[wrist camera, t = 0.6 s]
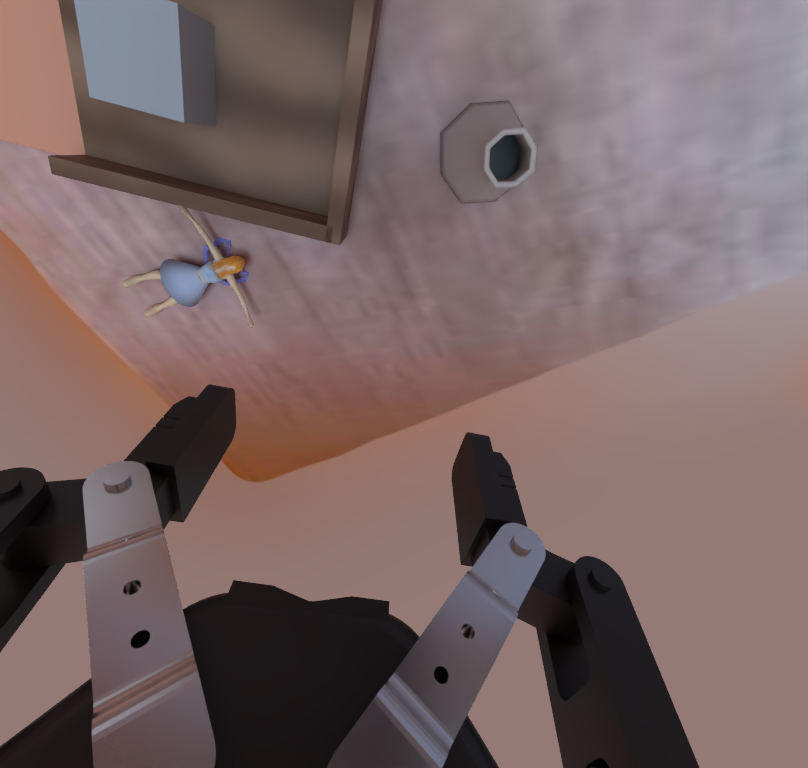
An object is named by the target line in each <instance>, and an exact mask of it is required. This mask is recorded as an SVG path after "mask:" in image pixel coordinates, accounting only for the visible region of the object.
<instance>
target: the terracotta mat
mask: <svg viewBox="0 0 808 768" xmlns="http://www.w3.org/2000/svg"><path fill="white" fill-rule="evenodd" d="M0 140H4V141H8V142H11V143H15V144H19V145H23V146H27V147H31V148H35V149H39V150H43V151H47V152H51V153H55V154H59V155H86V154H85V149H84V143H83V138H82V132H81V126H80V121H79V115H78V109H77V104H76V98H75V92H74V87H73V81H72V76H71V70H70V64H69V59H68V53H67V47H66V42H65V36H64V30H63V25H62V19H61V13H60V8H59V2H58V0H0Z"/></svg>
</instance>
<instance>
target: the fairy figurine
mask: <svg viewBox="0 0 808 768" xmlns="http://www.w3.org/2000/svg"><path fill="white" fill-rule="evenodd" d="M180 207H181V208H182V210H181V209H180V211H182V212H183V213H184V214H185V215H187V216H188V217H189V218H190V220H191V221H192V222H193V223H194V225H195V227H196V228H197V230H198V231H199V232H200V234H201V235H202V236H203V238H204V239H205V241H206V243H207V244H208V246H206V247H207V248H206V247H205V249H204V251H205V252H203V253H205V254H203V255H204V260H205V262H206V264H205V265H204V266H202V267H198V266H195V265H192V264H188V263H185V262H181V261H177V260H174V259H168V260H165V261H164V262H163V263H162V264H161V267H160V271H159V270H155V271H152V272H149V273H147V274H144V275H135V276H132V277H131V278H129V279H126V280H124V281H123V282H122V285H123V286H124V287H126V288H129V287H131V286H133V285H135V284H138V283H141V282H142V281H144V280H153V279H159V280H162V283H163V285H164V287H165V289H166V291H167V292H168V293H169V295H170V296H171V297H170V298H169V299H168V300H166V301H165V302H164V303H161V304H156V305H153V306H152V307H151V308H149V309H147V310H146V311H145V312H144V315H145V316H146V317H151V316H153V315H154V314H156V313H158V312H161V311H162V310H163V309H164V308H166V307H169V306H173V305H176V304H178V303H180V304H181V305H184V306H188V307H192V306H195V305H196V304H197V303H198V302H199V300H200V298H201V296H202V295H203V293H204V291H205V289H206V288H207V286H208V284H209V283H218V282H220V283H222V284H224V285H226V284H227V285H228V284H229V285H231V286H232V288H233V289H234V290H235V292H236V294H237V296H238V298H239V300H240V302H241V304H242V306H243V308H244V310H245V312H246V315H247V320H248V325H249V323H250V325H252V326H251V328H253V327H254V323H253V321H252V318H251V316H250V314H249V312H248V309H247V305H246V302H245V299H244V297H243V295H242V293H241V291H240V289H239V287H238V285H237V283H239V282H240V283H241V282H246V280H247V277H248V276H249V275H248V276H247V274H249V273H247V272H245V271H244V272H245V273H244V272H242V269H243V267H244V266H245V261H244V259H243V258H241V257H239V256H231V257H228V254H229V250H230V248H229V244H230V245H231V241H229V240H228V244H227V245H228V254H227V257H225V258H224V257H223V256H222V255H221V254H220V252H219V251H218V250H217V248H216V246H217V245H219V244H220V243H222V244H223V241H226V243H227V239H224V240H222V238H218V239H217V240H216V241H215V242H214V243H212V241H211V239H210V238H209V236H208V234H207V233H206V232H205V230H204V229H203V228H202V227H201V226H200V225H199V224H198V223H197V222H196V220H195V219H194V218H193V217H192V215H191V214H190V212H189V211H188V210H187V208H186V207H184V206H180ZM219 241H220V242H219ZM215 243H216V244H215ZM218 243H219V244H218ZM227 245H226V246H227ZM209 249H210V251H211V253H212V254H211V255H213V257H214V258H213V257H212V256H211V255H210V254H209V255H210V256H211V257H212V258H213V261H209V262H208V261H207V259H208V258H207V256H206V254H208V253H207V250H209ZM220 249H221V248H220ZM224 250H225V247H224ZM221 251H222V250H221ZM222 253H223V252H222ZM205 256H206V257H205ZM214 259H215V260H214ZM211 260H212V259H211ZM207 262H208V263H207ZM240 271H241V272H242V273H243V275H244V274H246V276H245V278H246V280H245V278H242V277H241V279H242V281H241V279H240V280H239V279H237V280H235V278H234V275H233V273H234V274H235V273H238V272H240ZM238 274H239V273H238ZM239 275H240V274H239ZM224 279H227V282H225V281H222V280H224ZM243 279H244V280H243ZM237 281H238V282H237Z"/></svg>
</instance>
